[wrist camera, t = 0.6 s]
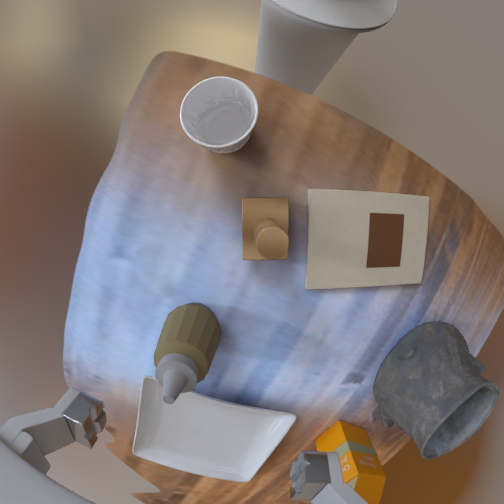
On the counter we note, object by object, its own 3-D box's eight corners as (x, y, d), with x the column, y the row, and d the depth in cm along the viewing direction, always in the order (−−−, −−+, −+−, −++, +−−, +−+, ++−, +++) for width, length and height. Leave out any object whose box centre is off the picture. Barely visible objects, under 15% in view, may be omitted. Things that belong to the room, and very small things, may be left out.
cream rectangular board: (307, 188, 37) (309, 188, 36) (426, 196, 37) (429, 196, 36) (304, 287, 40) (306, 289, 39) (418, 281, 40) (421, 283, 39)
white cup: (264, 118, 35) (271, 94, 25) (238, 168, 36) (236, 160, 26) (213, 95, 34) (202, 66, 24) (186, 144, 35) (166, 129, 25)
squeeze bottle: (234, 318, 41) (227, 400, 23) (201, 351, 42) (181, 436, 24) (190, 284, 39) (154, 352, 22) (160, 320, 41) (116, 395, 23)
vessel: (333, 393, 45) (366, 477, 25) (406, 293, 41) (483, 352, 21) (403, 413, 47) (441, 473, 28) (465, 333, 43) (523, 380, 24)
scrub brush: (242, 197, 37) (240, 201, 24) (284, 197, 37) (304, 201, 24) (243, 252, 39) (241, 284, 26) (283, 252, 39) (301, 283, 26)
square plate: (135, 444, 48) (131, 455, 44) (149, 362, 42) (142, 375, 39) (247, 473, 50) (248, 485, 46) (297, 403, 45) (300, 417, 41)
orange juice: (339, 419, 46) (367, 496, 27) (365, 428, 48) (395, 496, 28) (313, 440, 48) (332, 515, 28) (341, 448, 49) (363, 515, 30)
